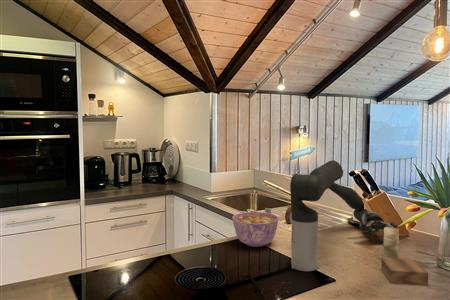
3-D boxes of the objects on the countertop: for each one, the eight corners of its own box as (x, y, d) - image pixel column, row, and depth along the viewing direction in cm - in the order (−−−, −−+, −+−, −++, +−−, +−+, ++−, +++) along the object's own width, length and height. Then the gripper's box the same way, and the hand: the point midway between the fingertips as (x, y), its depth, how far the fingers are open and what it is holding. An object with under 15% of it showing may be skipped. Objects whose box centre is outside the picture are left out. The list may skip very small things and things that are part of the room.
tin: (298, 218, 191) (298, 203, 191) (303, 219, 189) (303, 203, 189) (284, 224, 180) (284, 208, 179) (289, 225, 178) (289, 209, 177)
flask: (266, 225, 177) (266, 206, 177) (278, 228, 172) (278, 208, 171) (257, 228, 172) (257, 209, 171) (269, 231, 167) (269, 211, 166)
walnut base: (390, 282, 112) (391, 270, 111) (381, 268, 122) (381, 257, 122) (428, 285, 110) (428, 272, 109) (415, 270, 120) (415, 259, 120)
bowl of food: (260, 255, 136) (260, 226, 135) (222, 244, 150) (222, 218, 149) (287, 242, 151) (287, 216, 150) (251, 233, 164) (251, 209, 164)
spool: (385, 262, 128) (386, 230, 127) (381, 257, 133) (382, 226, 132) (400, 263, 127) (400, 231, 126) (395, 258, 132) (396, 227, 131)
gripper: (356, 212, 157) (364, 222, 141) (389, 213, 155) (401, 223, 139) (355, 228, 158) (363, 240, 142) (389, 229, 155) (401, 241, 140)
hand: (382, 231), depth 140 cm, fingers open, 8 cm apart
